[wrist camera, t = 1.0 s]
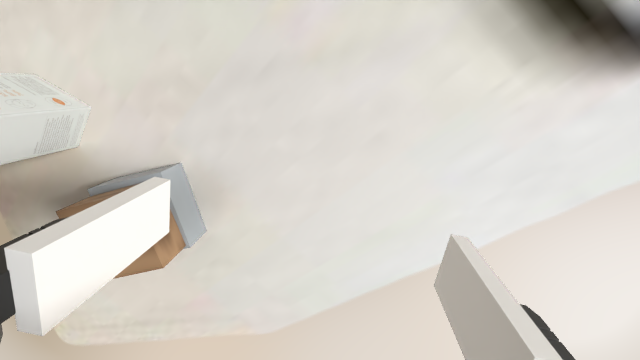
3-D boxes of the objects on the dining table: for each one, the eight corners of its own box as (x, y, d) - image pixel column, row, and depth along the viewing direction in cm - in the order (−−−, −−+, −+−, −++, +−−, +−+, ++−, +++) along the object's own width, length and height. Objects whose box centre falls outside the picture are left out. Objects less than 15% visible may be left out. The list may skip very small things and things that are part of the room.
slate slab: (116, 177, 42) (87, 189, 38) (182, 162, 41) (160, 172, 36) (144, 242, 45) (120, 260, 40) (207, 229, 44) (190, 247, 39)
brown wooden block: (92, 195, 38) (55, 211, 33) (157, 178, 36) (128, 192, 32) (124, 259, 40) (94, 282, 35) (186, 245, 39) (163, 267, 34)
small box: (23, 116, 41) (-120, 130, 28) (35, 72, 39) (-112, 66, 26) (79, 148, 41) (-36, 175, 29) (94, 107, 40) (-23, 116, 27)
